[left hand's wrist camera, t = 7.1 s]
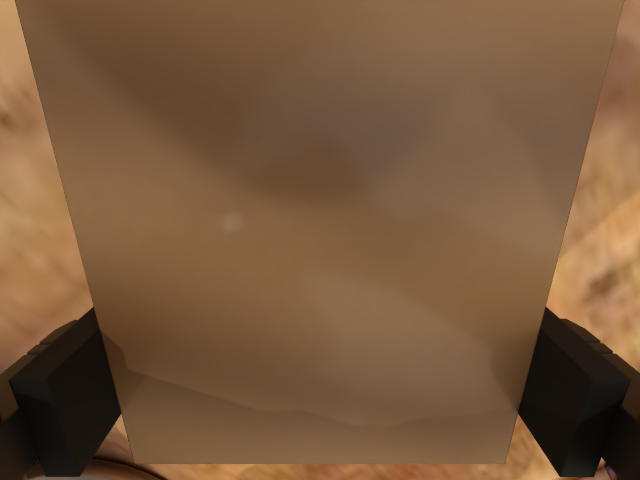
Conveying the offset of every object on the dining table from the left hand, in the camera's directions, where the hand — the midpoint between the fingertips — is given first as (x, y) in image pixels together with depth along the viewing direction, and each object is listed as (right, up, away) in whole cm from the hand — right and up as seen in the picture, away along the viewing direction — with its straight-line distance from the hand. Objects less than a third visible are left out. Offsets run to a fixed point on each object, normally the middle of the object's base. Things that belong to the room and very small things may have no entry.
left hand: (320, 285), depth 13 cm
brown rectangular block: (0, +8, +2) cm, 8 cm away
